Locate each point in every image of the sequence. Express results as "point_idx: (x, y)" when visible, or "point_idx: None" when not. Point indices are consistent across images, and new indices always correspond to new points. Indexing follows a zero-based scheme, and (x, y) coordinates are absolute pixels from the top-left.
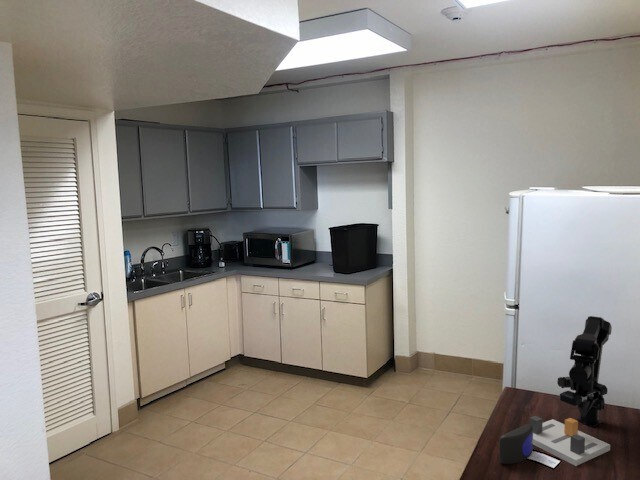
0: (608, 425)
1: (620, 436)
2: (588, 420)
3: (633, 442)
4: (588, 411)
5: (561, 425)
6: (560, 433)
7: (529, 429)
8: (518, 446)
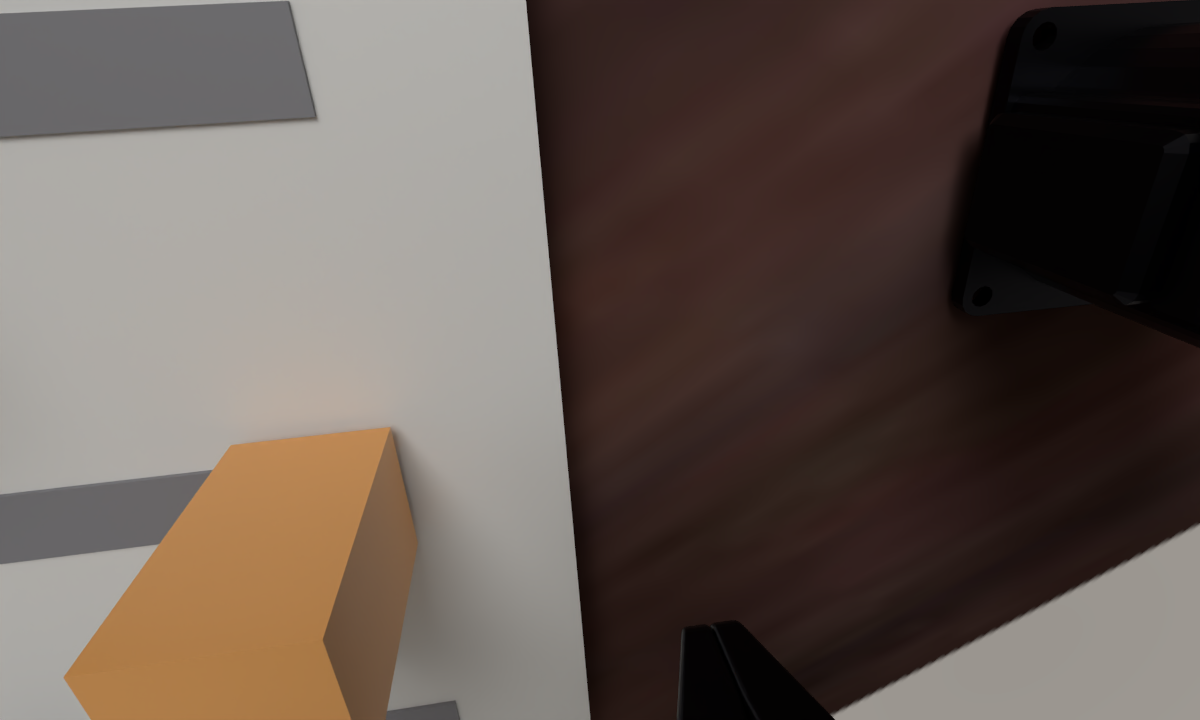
0: (1141, 357)
1: (947, 567)
2: (1025, 268)
3: (911, 668)
4: (1188, 326)
5: (446, 177)
6: (184, 393)
7: None
8: None
